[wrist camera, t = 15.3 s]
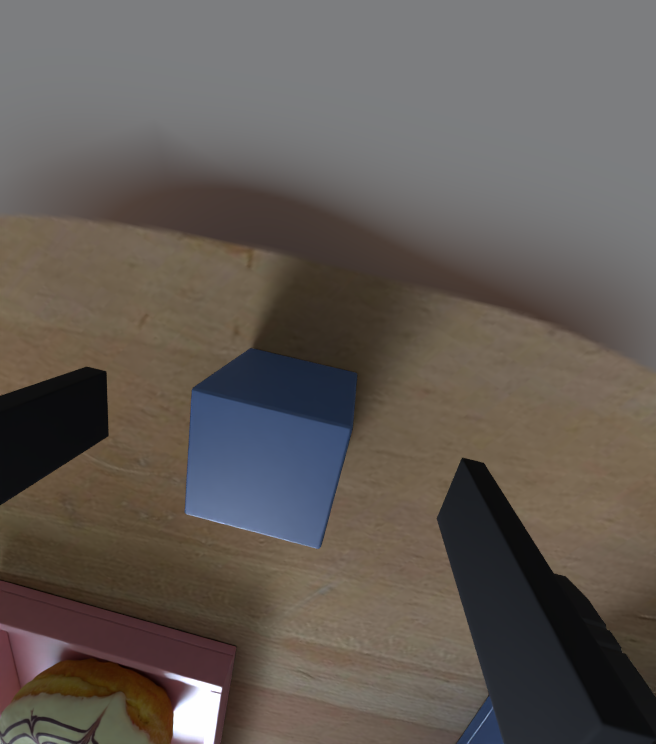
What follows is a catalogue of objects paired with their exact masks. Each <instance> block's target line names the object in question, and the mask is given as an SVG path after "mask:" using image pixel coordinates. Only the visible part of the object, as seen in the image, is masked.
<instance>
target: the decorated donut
mask: <svg viewBox="0 0 656 744" xmlns="http://www.w3.org/2000/svg"><path fill="white" fill-rule="evenodd" d="M173 726H174V713H173V710H172V706H171V701H170V698H169V697H168V696H167V693H166V691H165V689H164V688H162V687H160V686H157V685H155V683H154V682H153V681H151V680H150V679H148V678H145V677H143V676H142V675H140V674H138V673H137V672H135V671H132V670H130V669H125V668H122V667H121V666H119V665H118V664H117V663H115V662H112V661H108V662H99V661H97V660H96V659H94V658H90V659H84V660H80V661H79V660H75V661H74V660H65V661H60V662H58V663H57V664H54V665H53V666H51V667H50V668H48V669H46V670H44V671H43V672H41V673H40V674H38V675H37V676H36V677H35V678H34V679H33V680H32V681H30V682H28V683H27V684H26V685H24V686H23V687H22V688H21V689H20V690H19V691H18V693H17V694H16V695H15V696H14V698H13V700H12V701H11V703H10V704H9V705H8V706H7V707H6V708H5V709H4V711H3V712H2V714H1V718H0V744H171V740H172V736H173Z"/></svg>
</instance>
